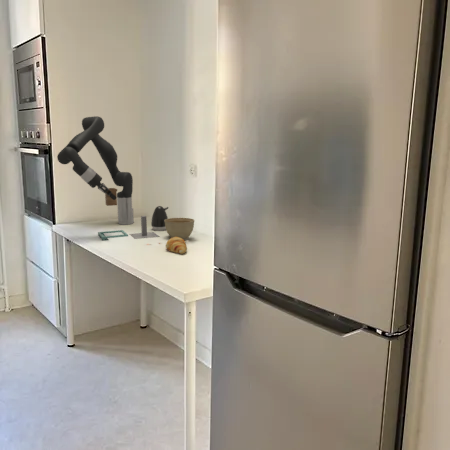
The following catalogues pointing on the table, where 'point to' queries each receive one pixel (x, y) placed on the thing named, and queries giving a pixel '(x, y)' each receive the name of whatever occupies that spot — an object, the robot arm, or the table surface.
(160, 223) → the black electric kettle
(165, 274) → the table surface
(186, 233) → the planter bowl
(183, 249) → the croissant
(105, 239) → the tray
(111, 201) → the collar
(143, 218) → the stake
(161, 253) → the table surface
